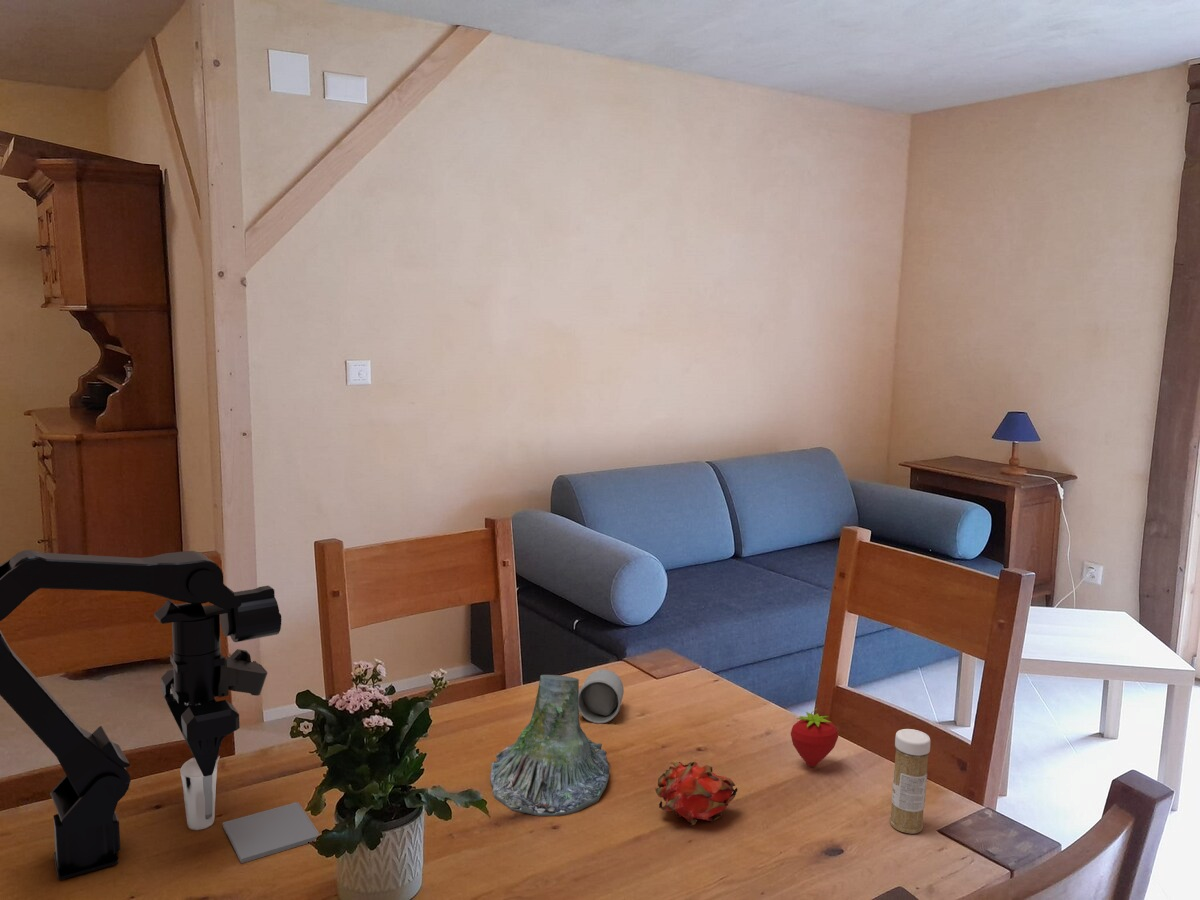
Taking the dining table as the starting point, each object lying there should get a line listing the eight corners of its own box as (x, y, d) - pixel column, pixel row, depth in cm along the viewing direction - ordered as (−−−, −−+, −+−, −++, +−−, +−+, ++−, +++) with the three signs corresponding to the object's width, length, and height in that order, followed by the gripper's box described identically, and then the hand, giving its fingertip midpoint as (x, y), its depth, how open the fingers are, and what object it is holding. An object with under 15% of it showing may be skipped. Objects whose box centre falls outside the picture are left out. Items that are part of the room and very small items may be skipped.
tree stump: (463, 807, 130) (471, 678, 132) (517, 776, 148) (523, 664, 150) (585, 824, 124) (591, 690, 126) (625, 790, 143) (630, 674, 145)
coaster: (241, 863, 114) (241, 859, 114) (222, 826, 122) (222, 822, 122) (320, 839, 120) (320, 835, 120) (297, 805, 128) (297, 801, 128)
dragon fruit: (646, 825, 128) (727, 833, 130) (662, 818, 121) (748, 826, 122) (648, 762, 132) (727, 770, 134) (664, 752, 125) (747, 761, 126)
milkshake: (211, 835, 120) (208, 764, 119) (175, 830, 121) (172, 759, 120) (231, 817, 124) (229, 748, 123) (196, 812, 125) (194, 744, 124)
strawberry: (843, 774, 141) (847, 712, 139) (797, 777, 139) (801, 715, 138) (826, 756, 147) (830, 697, 145) (782, 759, 145) (785, 700, 144)
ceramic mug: (624, 705, 164) (625, 665, 163) (620, 725, 156) (620, 682, 155) (566, 702, 165) (566, 662, 164) (559, 721, 157) (559, 679, 156)
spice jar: (891, 814, 129) (897, 725, 127) (925, 822, 128) (932, 731, 126) (887, 830, 125) (894, 738, 123) (922, 838, 123) (929, 745, 122)
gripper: (279, 659, 116) (281, 774, 118) (243, 619, 131) (245, 721, 133) (185, 676, 110) (189, 797, 112) (158, 631, 125) (162, 739, 127)
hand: (200, 760), depth 121 cm, fingers open, 9 cm apart
